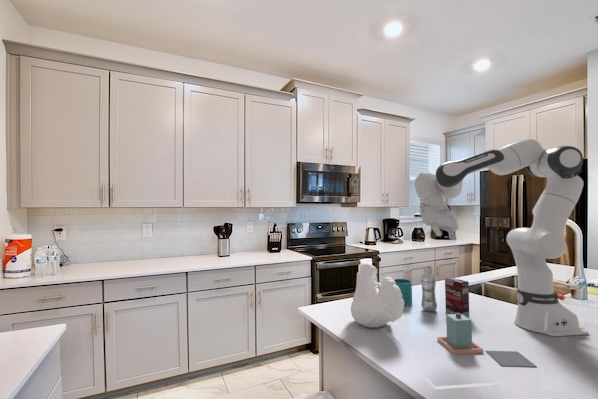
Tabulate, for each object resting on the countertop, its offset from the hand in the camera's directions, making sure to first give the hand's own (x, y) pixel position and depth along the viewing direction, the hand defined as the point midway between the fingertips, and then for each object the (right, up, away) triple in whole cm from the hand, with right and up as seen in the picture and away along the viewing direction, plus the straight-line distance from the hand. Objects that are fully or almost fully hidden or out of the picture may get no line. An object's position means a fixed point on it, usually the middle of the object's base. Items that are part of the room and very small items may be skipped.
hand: (446, 237), depth 116 cm
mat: (+8, -36, -23) cm, 43 cm away
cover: (-3, -36, -15) cm, 39 cm away
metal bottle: (+3, -37, +21) cm, 43 cm away
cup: (-7, -37, +31) cm, 49 cm away
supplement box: (+12, -37, +14) cm, 41 cm away
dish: (-3, -36, -15) cm, 39 cm away
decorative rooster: (-26, -37, +4) cm, 46 cm away
